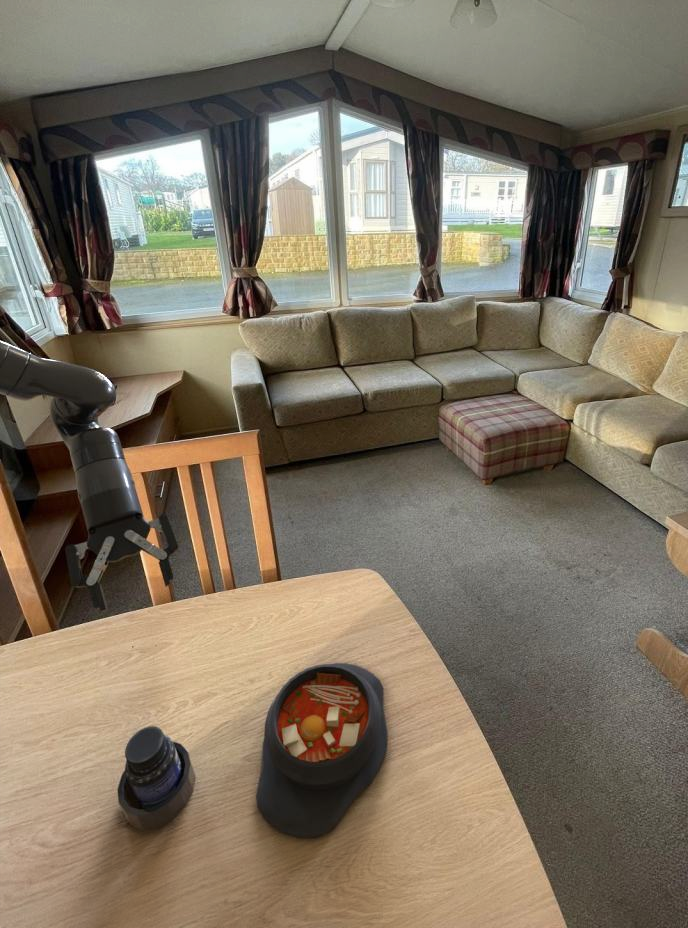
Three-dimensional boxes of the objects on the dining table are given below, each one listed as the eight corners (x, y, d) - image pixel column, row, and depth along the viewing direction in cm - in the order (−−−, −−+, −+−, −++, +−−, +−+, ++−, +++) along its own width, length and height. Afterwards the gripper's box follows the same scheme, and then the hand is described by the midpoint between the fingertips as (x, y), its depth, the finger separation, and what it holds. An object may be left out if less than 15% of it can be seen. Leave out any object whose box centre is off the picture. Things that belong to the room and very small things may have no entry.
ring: (117, 841, 63) (107, 821, 61) (138, 767, 71) (129, 746, 69) (189, 828, 64) (182, 807, 62) (201, 756, 72) (195, 735, 70)
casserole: (308, 658, 86) (304, 625, 83) (408, 688, 81) (408, 654, 77) (225, 814, 65) (214, 779, 62) (352, 870, 60) (349, 835, 56)
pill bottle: (195, 783, 68) (179, 736, 63) (157, 827, 64) (137, 780, 59) (168, 758, 71) (151, 711, 66) (129, 799, 67) (108, 751, 62)
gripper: (158, 486, 81) (187, 580, 77) (59, 515, 74) (85, 620, 70) (157, 473, 74) (188, 576, 70) (48, 504, 67) (76, 619, 64)
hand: (136, 598), depth 70 cm, fingers open, 8 cm apart
